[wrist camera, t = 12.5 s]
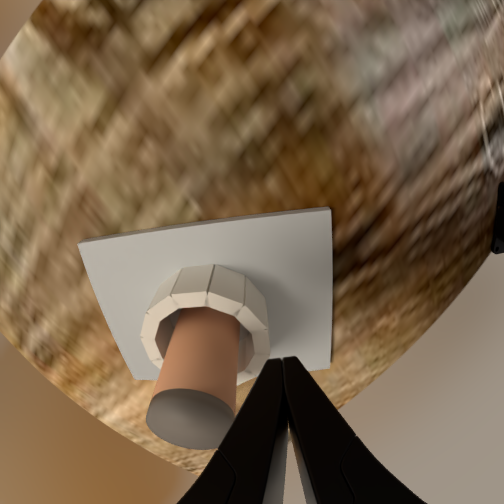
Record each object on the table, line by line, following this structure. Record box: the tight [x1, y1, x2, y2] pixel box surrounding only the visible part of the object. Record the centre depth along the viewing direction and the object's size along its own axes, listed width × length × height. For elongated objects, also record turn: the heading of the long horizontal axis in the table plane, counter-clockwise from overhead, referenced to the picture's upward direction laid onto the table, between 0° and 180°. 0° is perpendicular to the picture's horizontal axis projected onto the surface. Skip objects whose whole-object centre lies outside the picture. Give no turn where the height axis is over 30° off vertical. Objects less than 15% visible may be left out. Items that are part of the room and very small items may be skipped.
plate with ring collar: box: [78, 207, 333, 385], centre depth 20 cm, size 18×14×4 cm
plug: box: [146, 306, 240, 450], centre depth 17 cm, size 4×4×10 cm
